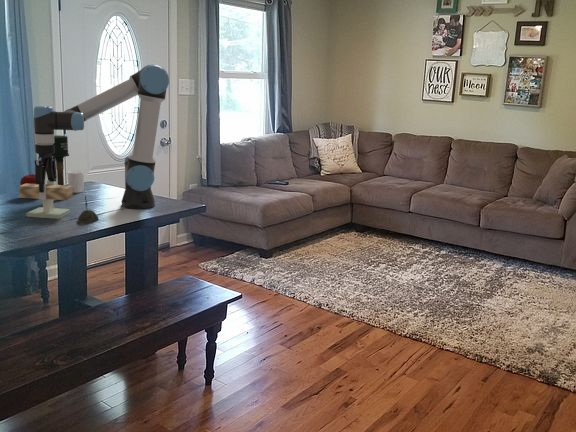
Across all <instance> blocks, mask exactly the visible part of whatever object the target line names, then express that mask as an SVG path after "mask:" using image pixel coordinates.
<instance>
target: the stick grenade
mask: <svg viewBox="0 0 576 432" xmlns="http://www.w3.org/2000/svg"><path fill="white" fill-rule="evenodd" d="M54 142H55V143H53V144H54V145H55V153H53V154H52V156H55V157H56V175H57V178H56V179H57V185H65V182H64V180H65V179H64V168H65V167H64V165H65V164H64V159H65V157H70V154H69V141H68V136H67V135H54Z"/></svg>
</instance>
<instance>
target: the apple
mask: <svg viewBox="0 0 576 432" xmlns="http://www.w3.org/2000/svg"><path fill="white" fill-rule="evenodd" d="M19 182H20V185H19V186H21V185H23V184H25V183H27V184H36V183H35V173H31V174H27V175H24V176H23V177H22V178H21V179H20V181H19Z"/></svg>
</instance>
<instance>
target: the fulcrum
mask: <svg viewBox="0 0 576 432" xmlns="http://www.w3.org/2000/svg"><path fill="white" fill-rule="evenodd" d="M70 213H71V209H68V208H58V207H56V208H55V207H54V199H46V200H42V207H37V208H34V209H32V210H30V211H28V212H26V213H25V216H26V217H29V218H40V219H44V218H45V219H57V220H59V219H60V218H63V217H65V216H66V215H68V214H70Z"/></svg>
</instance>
